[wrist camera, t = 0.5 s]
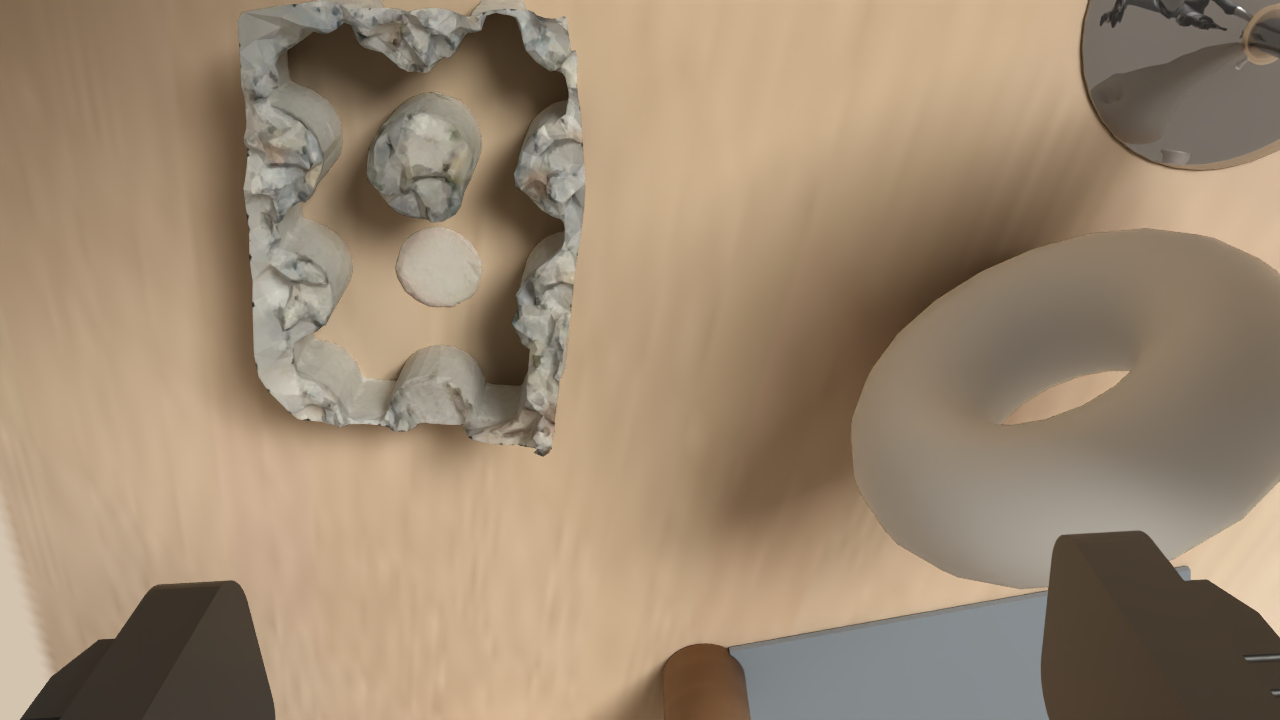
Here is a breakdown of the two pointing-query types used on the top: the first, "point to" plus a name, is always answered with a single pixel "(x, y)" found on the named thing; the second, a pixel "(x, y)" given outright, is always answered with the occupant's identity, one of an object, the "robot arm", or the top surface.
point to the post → (704, 685)
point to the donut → (1090, 434)
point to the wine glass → (1186, 78)
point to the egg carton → (413, 186)
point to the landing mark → (908, 667)
